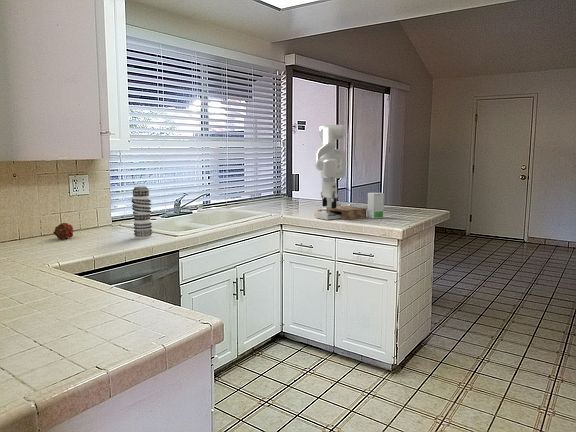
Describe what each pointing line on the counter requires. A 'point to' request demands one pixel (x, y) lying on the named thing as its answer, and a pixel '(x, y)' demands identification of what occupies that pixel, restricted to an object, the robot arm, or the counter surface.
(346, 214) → the housing
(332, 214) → the disc
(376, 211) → the skincare box
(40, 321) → the counter surface
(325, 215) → the tray
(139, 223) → the decorative candle
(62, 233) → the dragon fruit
